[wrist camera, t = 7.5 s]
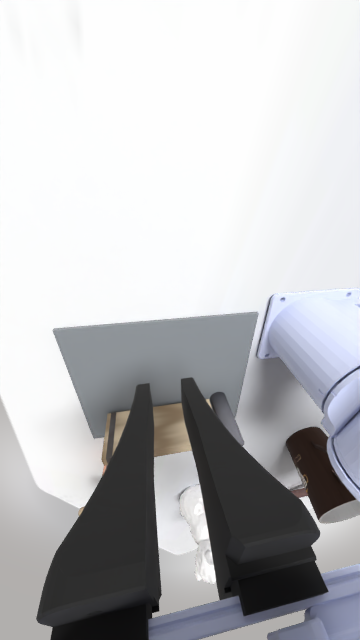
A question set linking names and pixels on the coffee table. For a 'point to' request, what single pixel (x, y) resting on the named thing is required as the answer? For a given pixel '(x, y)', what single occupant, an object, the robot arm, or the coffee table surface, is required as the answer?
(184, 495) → the sitting furry creature
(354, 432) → the robot arm
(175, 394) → the gate frame
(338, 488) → the coffee mug
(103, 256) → the coffee table surface
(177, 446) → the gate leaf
